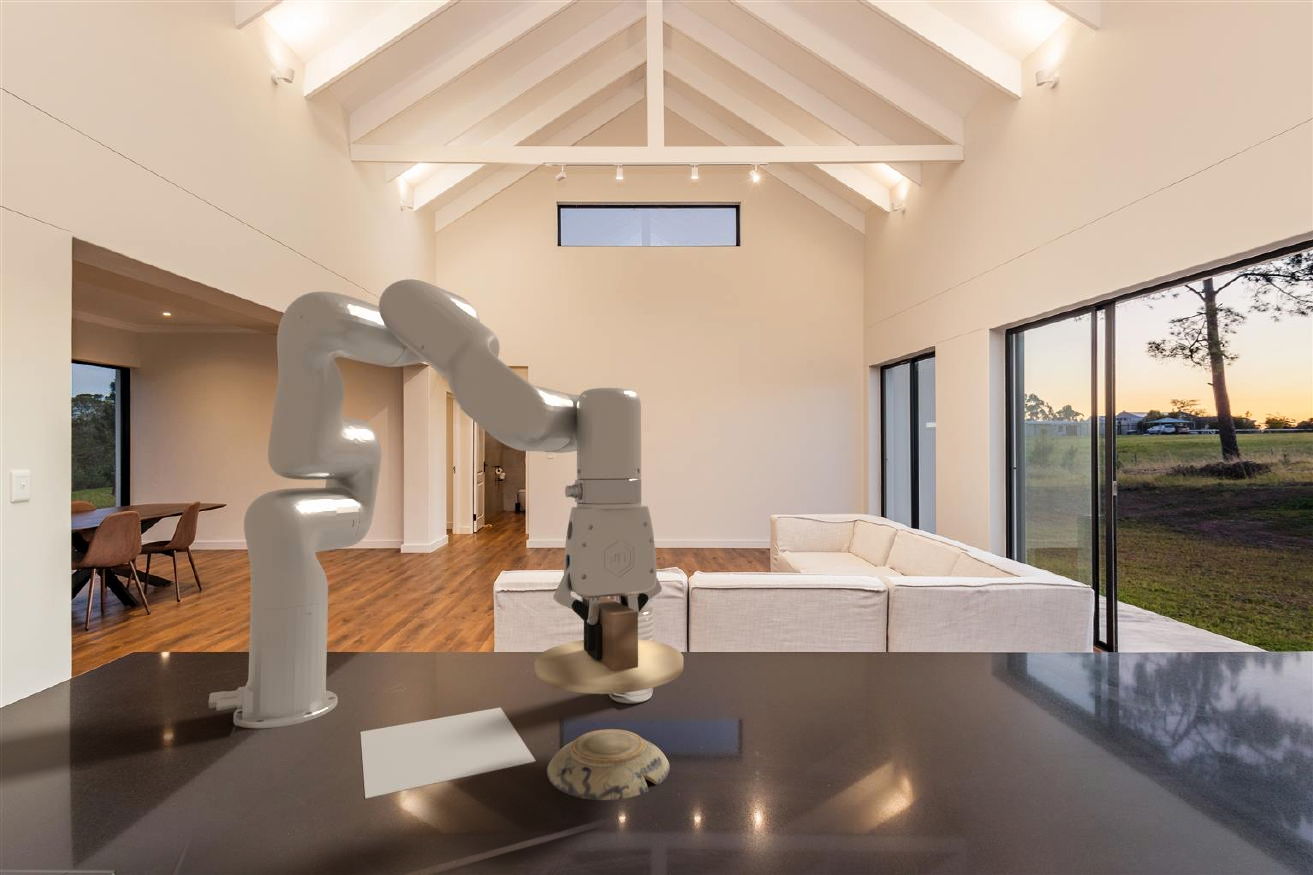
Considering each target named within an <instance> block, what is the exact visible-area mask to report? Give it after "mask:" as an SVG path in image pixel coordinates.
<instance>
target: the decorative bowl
mask: <svg viewBox="0 0 1313 875" xmlns="http://www.w3.org/2000/svg"><path fill="white" fill-rule="evenodd" d="M670 768H671V766H670V763H669V760H668V759H667V757H666V755H665V754H664V752H662V750H661V749H660V748H659V747H658V746H656V745H655V744H653V743H651V742H650V741H649V740H646V739H645V738H642V737H641V736H640V735H638V734H637V733H635V732H633V731H629V730H625V729H617V728H616V729H615V728H609V729H608V728H606V729H599V730H592V731H589V732H586V733H584V734H582V735H579V736H578V737H577V738H576V739H575V740H572V741H571V742H569V743H567V744H566V745H564V746H563V747H561V748H560V749H559V750H558V751H557V752H556V753H555V754H554V755H553V757H552V758H551V760H550V761H549V763H548V765H547V767H546V775H547V778H548V780H549V782H550V783H551V784H552V786H554V787H555V788H556V789H558V790H559V791H561V792H563V793H565V794H567V795H570V796H573V797H575V798H580V799H584V800H593V801H616V800H621V799H622V800H624V799H629V798H632V797H637V796H640V795H642V794H645V793H647V792H649V787H648V784H647V782H646V780H647V781H649V782H651V783H652V784H654V785H656V786H658V785H661V784H662V782H663V781H665V779H666V778H667V777H668V775H669V772H670Z"/></svg>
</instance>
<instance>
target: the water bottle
mask: <svg viewBox="0 0 1313 875" xmlns="http://www.w3.org/2000/svg"><path fill="white" fill-rule="evenodd" d="M608 598H610V599H612V600H614V601H616V602H618V603H619V596H610V597H608ZM638 639H642V640H649V641H654V609H653V598H651V599H649V600H648V602H647V603H646V604H645V606H644V607H643V608H642V609H641V610H640V612H639V616H638ZM653 693H654V687H653V688H649V689H645V690H640V691H633V692H625V693H611V694H608V696H609V697H610V699H611V700H612V701H615V702H617V703H620V704H629V705H631V704H639V703H644V702H646V701H648V700H649V699H651V698H652V695H653Z"/></svg>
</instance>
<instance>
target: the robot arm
mask: <svg viewBox="0 0 1313 875" xmlns="http://www.w3.org/2000/svg"><path fill="white" fill-rule="evenodd" d="M500 349H501V348H500V341H499V338H498V336H497V335H496V334H495V332H494V331H492V330H491V329H490V328H488V327H487V326H485V325H484V324H483V323H482V322H480V318H479V314H478V312H477V310H476V309H475V308H474V306H473V305H472V304H471V303H470V302H469V301H468V300H467V299H465V298H464V297H462V296H461V295H458V294H456V293H453V292H451V291H448V290H447V289H443V288H441V287H439V286H438V285H437V286H436V285H433V284H431V283H429V282H426V281H423V280H417V279H411V278H409V279H408V278H407V279H402V280H397V281H395V282H393V283H391V284H390V285H389V286H387V287H386V288H385V289H384V290H383V292H382V294H381V296H380V298H379V302H378V305H377V304H373V303H370V302H368V301H365V300H362V299H360V298H355V297H353V296H349V295H346V294H341V293H337V292H336V293H335V292H333V291H331V292H330V291H313V292H308V293H305V294H303V295H300V296H298V298H296V299H295V300H293V301H292V302H291V303H290V304H289V305H288V307H287V308H286V310H285V311H284V313H283V315H282V316H281V318H280V321H279V324H278V329H277V335H276V350H277V351H276V352H277V367H278V373H277V377H278V378H277V386H276V392H275V398H274V405H273V412H272V417H271V418H272V419H271V426H270V431H269V432H270V433H269V439H268V448H267V449H268V450H267V459H268V464H269V466H270V469H271V470H272V472H274V474H276V475H277V476H279V477H282V478H285V479H288V480H289V479H291V480H299V481H300V480H301V481H302V480H303V481H304V480H306V481H307V480H309V481H311V480H315V481H316V480H317V481H318V480H325V486H324V487H297V488H296V487H293V488H292V487H291V488H283V489H277V490H273V491H269V492H268V491H267V492H266V493H263V494H262V495H260V496H258V497H257V498H256V499H254V500H253V501H252V502H251V504H250V505H249V506H248V508H247V509H246V512H245V514H244V519H243V520H244V521H243V530H244V538H245V542H246V547H247V553H248V554H247V555H248V560H249V568H250V569H249V570H250V601H249V602H250V604H249V605H250V614H249V616H250V617H249V619H250V622H249V649H248V652H249V653H248V677H247V678H248V679H247V681H246V684H245V686H238V688H237V689H236V690H230V691H226V690H225V691H224V690H222V691H217V692H211V693H210V694H209V696H208V697H209V698H208V708H209V709H213V708H216V711H217V712H219V711H225V710H229V709H235V708H237V709H236V710H235V711H234V712H233V724H234V725H235V727H242V728H248V729H275V728H281V727H286V726H293V725H297V724H300V723H304V722H308V721H311V720H314V719H316V718H319V717H322V716H323V715H326V714H328V713H329V712H331V711H333V709H335V708H336V707H337V705H338V695H337V694H336V693H334V692H332V691H330V690H327V657H328V656H327V652H328V651H327V650H328V620H329V618H328V616H329V614H328V612H329V584H328V579H327V578H328V577H327V575H326V572H325V570H324V568H323V567H322V565H321V563H320V560H319V559H318V557H317V555H316V553H319V552H325V551H331V550H338V549H339V550H340V549H345V548H348V547H353V546H354V545H356V544H358V543H359V542H361V541H363V539H364V538H365V537H366V535H367V534H368V532H369V530H370V527H371V525H372V521H373V517H374V512H375V505H376V499H377V491H378V485H379V479H380V472H381V465H382V446H381V441H380V439H379V436H378V434H377V431H375V429H374V428H373V426H371V425H370V424H369V423H368V422H366V421H363V420H362V419H359V418H354V417H343V405H344V399H345V396H346V395H345V393H346V390H345V382H344V378H343V375H342V373H341V369H340V368H339V366H338V364H337V362H336V361H335V359H337V358H344V359H349V360H353V361H357V362H358V361H359V362H363V363H367V364H373V365H377V366H380V367H388V368H393V367H394V368H396V367H398V368H399V367H406V366H410V365H411V366H412V365H415V364H420V363H424V362H425V363H426V364H427V365H429V366H430V368H433V369H434V371H436V372H437V373H438V374H439V375H440V376H441V377H443V378H444V379H445V380H446V381H447V382H448V387H449V389H450V392H451V394H452V396H453V398H454V400H455V402H456V404H457V406H458V407H459V408H460V409H461V410H462V411H463V413H465V414H466V416H468V417H469V418H470V419H471V420H473V421H474V422H475V423H476V424H477V425H478V426H479V427H481V428H482V429H483V430H485V431H486V432H487V433H488V434H489V435H491V436H492V437H493V438H494V439H496V440H497V441H499V442H500V443H501V444H504V445H505V446H507V447H509V448H511V449H513V450H514V449H515V450H517V451H521V452H523V451H524V452H544V453H552V454H553V453H557V454H558V453H559V454H560V453H561V454H563V453H572V452H576V479H575V481H574V484H572V485H566V486H565V489H564V494H565V497H566V498H572V499H574V502H575V503H576V506H572V507H571V510H570V513H569V514H570V515H569V519H568V525H567V530H566V539H565V544H564V547H565V548H564V556H563V557H564V560H563V562H564V563H563V575H562V578H561V580H560V581H559V584H558V586H557V589H555V592H554V594H553V596H552V597H553V601H554V602H556V603H558V604H560V605H562V606H564V607H566V608H568V609H571V610H572V611H573V612H574V613H575V614H576V615H577V616H578V617H580V619H581V620H583V640H584V649H585V651H587V653H588V655H589V656H591V657H592V658H593V659H595V660H601V658H602V625H601V624H600V623H599V618H598V614H599V603H600V598H602V597H608V598H609V597H610V596H619V603H620V604H622V605H625V606H627V607H629V608H631V609H633V610H635V611H637V612H638V616H639V612H640V610H641V609H642V608H643V607H644V606H645V604H646V603H647V602H648V600H649V599H651V598H652V599H653V598H654V597H655V596H657V595H658V594H660V593H661V592H662V591H663V590H662V585H661V584H660V581H659V579H658V577H657V570H658V569H657V555H656V544H655V536H654V530H653V529H654V528H653V524H652V523H653V522H652V518H651V513H650V509H649V506H648V505H642V404H641V402H642V401H641V399H640V396H639V395H638V393H637V392H635V391H634V390H631V389H629V388H628V389H627V388H619V387H598V388H597V387H596V388H589V389H587V390H584V391H582V392H581V393H580V394H573V393H567V392H563V391H560V390H554V389H550V388H547V387H543V386H538V385H534V384H532V383H531V382H530V381H527V380H526V379H525V378H523V376H521V375H520V374H518V373H517V372H516V371H515V370H513V369H512V368H510V367H509V365H507V364H505V363H504V362H503V361H502V360H501V359H500V358H499V355H500ZM572 592H573V593H575V594H576V595H577V596H578V597H580V600H579V599H577V598H576V597H573V596H572V594H571V593H572Z"/></svg>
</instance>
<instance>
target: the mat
mask: <svg viewBox="0 0 1313 875" xmlns="http://www.w3.org/2000/svg"><path fill="white" fill-rule="evenodd" d="M359 733H360V745H361V758H362V771H363V772H362V774H363V785H364V786H363V787H364V788H363V789H364V797H365V798H364V799H365V800H366V799H372V798H376V797H380V796H385V795H391V794H394V793H398V792H403V791H407V790H409V791H410V790H412V789H417V788H421V787H426V786H431V785H436V784H441V783H444V782H449V781H453V780H458V779H463V778H467V777H472V776H476V775H480V774H481V775H482V774H485V773H486V774H487V773H491V772H494V771H499V770H503V769H504V770H505V769H508V768H513V767H517V766H522V765H526V764H531V763H535V762H537V760H536V759H535V757H534V756H533V755H532V753H531V751H530V750H529V748H528V746H526V743H525V742H524V741H523V739H522V738H521V736H520V735H519V733H518V732H517V730H516V728H515V727H514V725H513V724H512V723H511V721H510V719H509V718H508V717H507V715H506V714H505V712H504V711H503V709H502V707H495V708H490V709H485V710H479V711H478V710H477V711H472V712H467V713H460V714H456V715H449V716H443V717H439V718H433V719H428V720H422V721H415V722H409V723H404V724H397V725H394V726H393V725H392V726H387V727H382V728H375V729H369V730H363V731H360V732H359Z"/></svg>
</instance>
